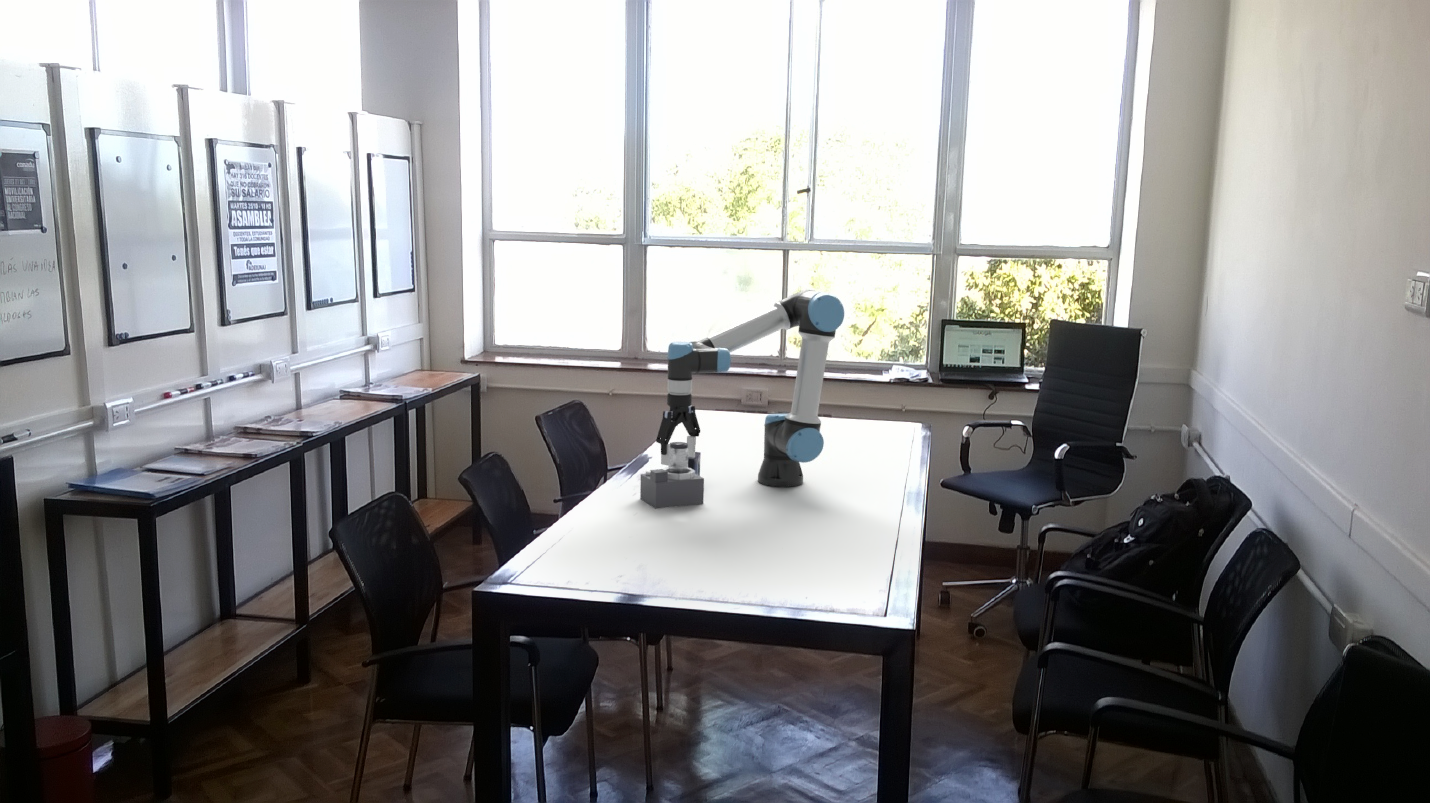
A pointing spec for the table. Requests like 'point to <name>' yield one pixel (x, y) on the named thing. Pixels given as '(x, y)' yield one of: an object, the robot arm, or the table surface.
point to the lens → (678, 458)
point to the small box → (695, 463)
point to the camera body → (671, 488)
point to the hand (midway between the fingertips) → (678, 460)
